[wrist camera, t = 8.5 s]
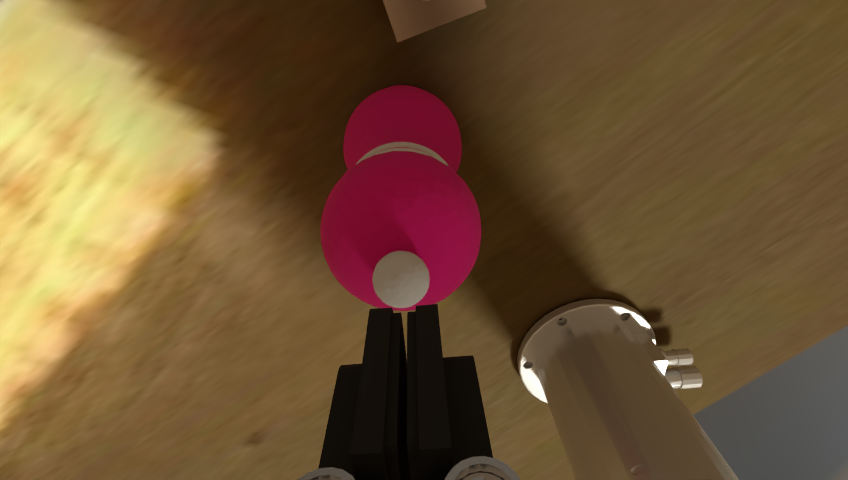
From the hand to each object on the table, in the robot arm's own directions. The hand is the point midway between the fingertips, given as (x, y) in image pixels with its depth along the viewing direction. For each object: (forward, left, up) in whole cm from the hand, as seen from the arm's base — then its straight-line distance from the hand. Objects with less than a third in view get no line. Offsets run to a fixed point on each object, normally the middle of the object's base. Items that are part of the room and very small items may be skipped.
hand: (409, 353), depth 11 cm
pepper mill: (0, 0, -22) cm, 22 cm away
